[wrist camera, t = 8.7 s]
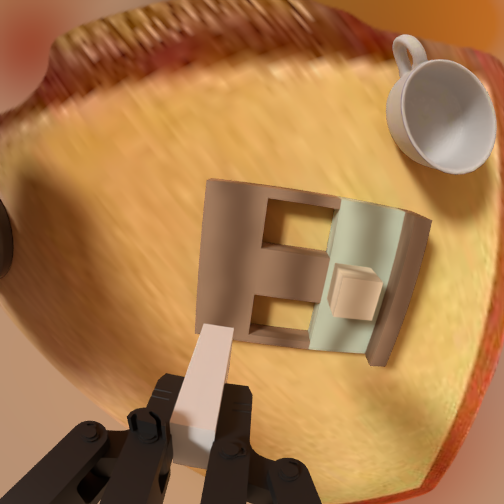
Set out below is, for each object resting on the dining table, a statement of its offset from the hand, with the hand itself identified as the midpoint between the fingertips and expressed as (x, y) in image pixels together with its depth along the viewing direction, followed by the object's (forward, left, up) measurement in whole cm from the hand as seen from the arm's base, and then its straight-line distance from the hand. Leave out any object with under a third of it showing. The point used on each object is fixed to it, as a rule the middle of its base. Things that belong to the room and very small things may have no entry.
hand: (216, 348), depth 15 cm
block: (+11, -2, -16) cm, 20 cm away
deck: (+7, -2, -19) cm, 20 cm away
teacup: (+16, +18, -19) cm, 31 cm away
